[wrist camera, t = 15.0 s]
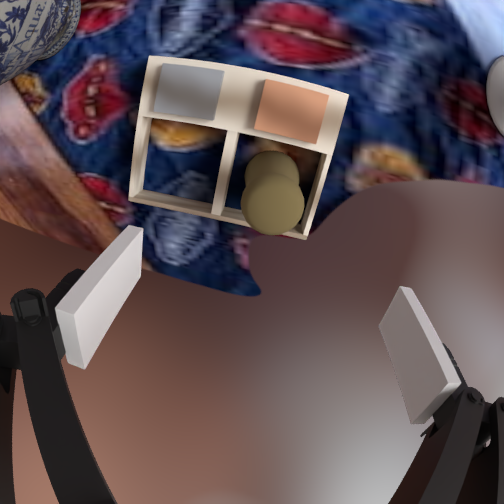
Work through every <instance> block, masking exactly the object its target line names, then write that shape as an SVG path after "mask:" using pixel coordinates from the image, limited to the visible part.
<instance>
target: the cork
mask: <svg viewBox="0 0 504 504" xmlns="http://www.w3.org/2000/svg"><path fill="white" fill-rule="evenodd" d="M299 180H300V178H299V170H298V168H297V165H296V163H295V162H294V161H293V160H292V159H291V157H289V156H288V155H286V154H284V153H282V152H278V151H265V152H262V153H260V154H258V155H256V156H255V157H254V158H253V159H252V160H250V162H249V164H248V165H247V167H246V171H245V184H246V188H245V190H244V191H243V194H242V199H241V210H242V214H243V216H244V218H245V220H246V222H247V223H248V224H249V225H250V226H251V227H252V228H253V229H254V230H256V231H258V232H260V233H262V234H266V235H280V234H283V233H285V232H288V231H290V230H291V229H292V228H293V227H295V226H296V225H297V223H298V222H299V220H300V219H301V217H302V214H303V210H304V197H303V195H302V192H301V190H300V187H299Z"/></svg>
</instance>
